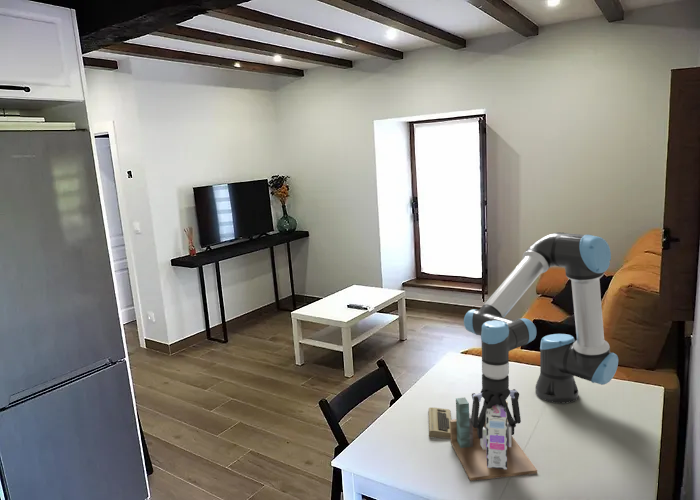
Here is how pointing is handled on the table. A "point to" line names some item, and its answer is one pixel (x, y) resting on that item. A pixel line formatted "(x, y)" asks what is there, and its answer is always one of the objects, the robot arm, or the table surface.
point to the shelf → (473, 453)
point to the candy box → (496, 437)
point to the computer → (439, 423)
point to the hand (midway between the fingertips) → (495, 445)
